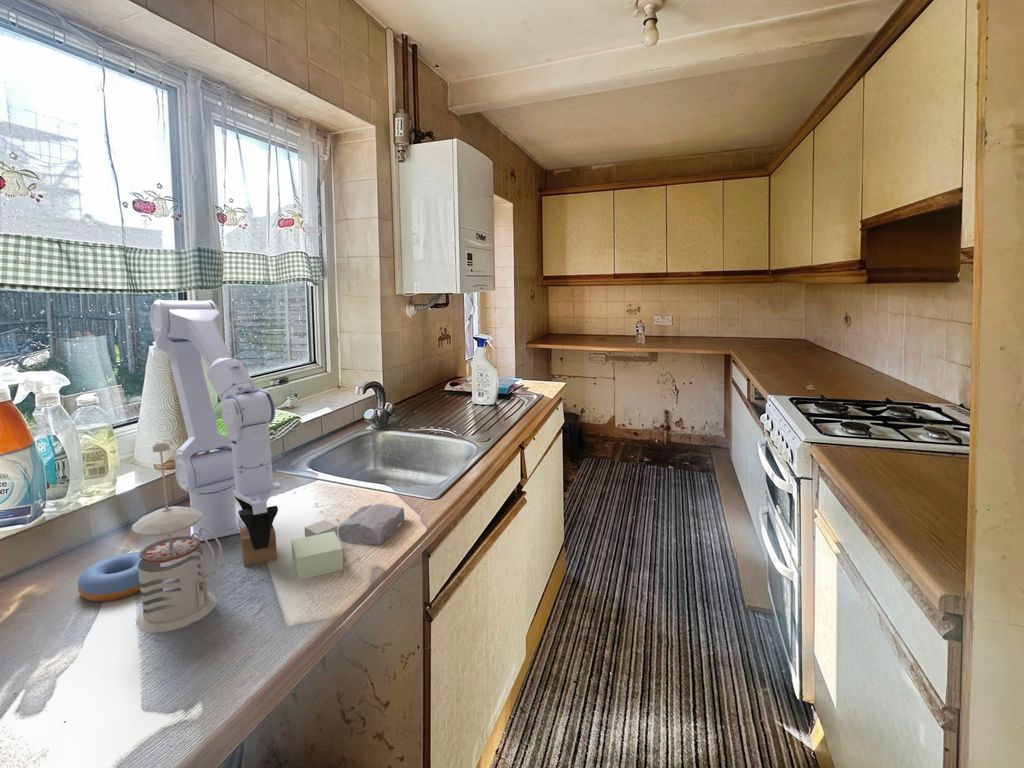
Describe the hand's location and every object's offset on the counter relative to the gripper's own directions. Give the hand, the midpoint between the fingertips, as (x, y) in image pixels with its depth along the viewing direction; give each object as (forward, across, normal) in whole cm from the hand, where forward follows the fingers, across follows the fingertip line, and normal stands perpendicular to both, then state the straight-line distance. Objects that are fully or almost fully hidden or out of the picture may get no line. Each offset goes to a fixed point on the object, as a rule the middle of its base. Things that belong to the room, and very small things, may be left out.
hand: (258, 538), depth 86 cm
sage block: (+4, -8, -8) cm, 12 cm away
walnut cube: (+3, 0, 0) cm, 4 cm away
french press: (+4, -11, +11) cm, 16 cm away
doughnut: (+4, +1, +19) cm, 20 cm away
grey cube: (+3, -2, -10) cm, 11 cm away
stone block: (+4, 0, -20) cm, 20 cm away
